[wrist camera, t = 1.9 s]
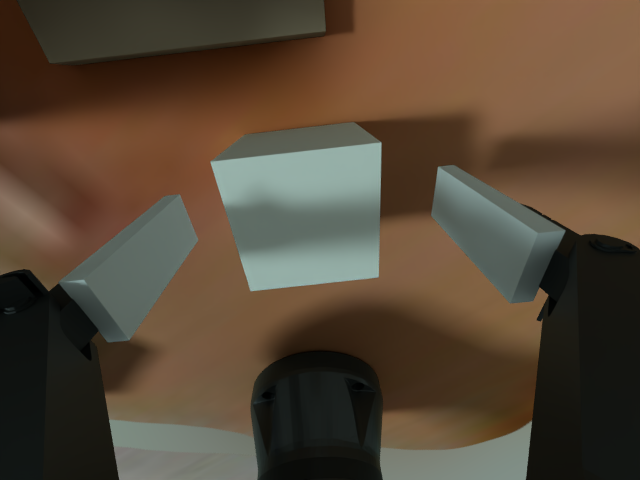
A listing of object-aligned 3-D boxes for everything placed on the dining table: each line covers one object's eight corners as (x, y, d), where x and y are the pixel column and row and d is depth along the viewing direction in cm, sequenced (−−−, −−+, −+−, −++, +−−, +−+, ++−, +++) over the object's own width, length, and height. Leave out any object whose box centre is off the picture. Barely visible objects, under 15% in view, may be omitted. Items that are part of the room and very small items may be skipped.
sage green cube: (356, 220, 20) (378, 277, 14) (267, 230, 20) (250, 291, 14) (353, 122, 17) (381, 142, 11) (244, 134, 17) (210, 162, 11)
